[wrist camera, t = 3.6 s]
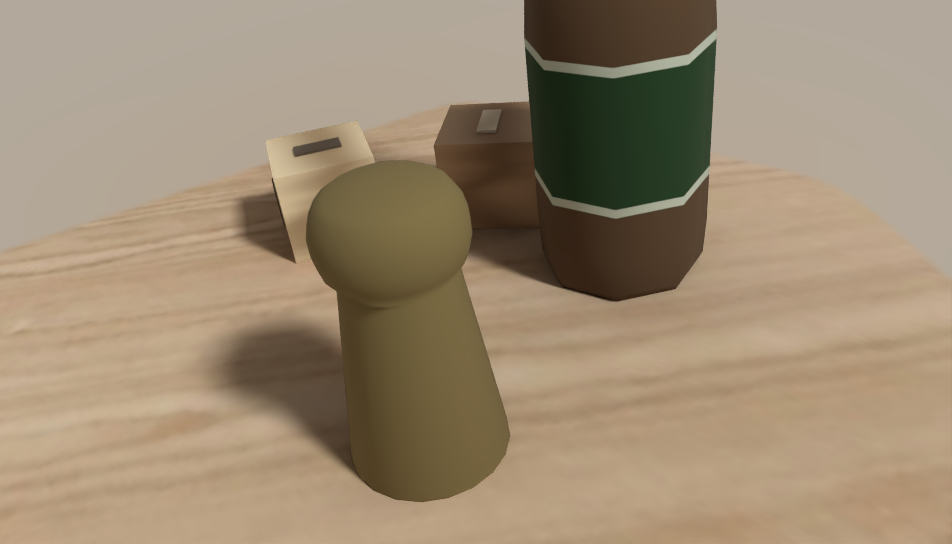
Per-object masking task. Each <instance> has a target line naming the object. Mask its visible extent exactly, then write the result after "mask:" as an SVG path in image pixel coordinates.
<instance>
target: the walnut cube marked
mask: <svg viewBox="0 0 952 544" xmlns="http://www.w3.org/2000/svg"><path fill="white" fill-rule="evenodd" d="M434 150H435V157H436V163H437V168H438V169H440V170H442V171H444V172H445V173H446V174H447V175H448V176H449V177H450V178H451V179H452V180H453V181H454V182H455V184H456V185H457V186H458V187H459V188H460V189H461V190H462V192H463V194H464V197H465V199H466V201H467V204H468V207H469V213H470V218H471V227H472V229H490V228H540V225H539V219H538V206H537V193H536V180H535V168H534V155H533V142H532V129H531V116H530V104H529V102H513V103H512V102H511V103H488V104H467V105H450V108H449V110H448V113H447V115H446V117H445V120H444V122H443V125H442V127H441V129H440V132H439V134H438V137H437V139H436V141H435V144H434Z"/></svg>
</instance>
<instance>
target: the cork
mask: <svg viewBox="0 0 952 544" xmlns="http://www.w3.org/2000/svg"><path fill="white" fill-rule="evenodd" d="M471 238H472V227H471V218H470V213H469V207H468V204H467V201H466V199H465V197H464V194H463V192H462V190H461V189H460V188H459V187H458V186H457V185H456V184H455V182H454V181H453V180H452V179H451V178H450V177H449V176H448V175H447V174H446V173H445V172H444V171H442V170H440V169H438V168H435V167H433V166H431V165H427V164H423V163H418V162H412V161H385V162H378V163H372V164H368V165H365V166H361V167H358V168H355V169H352V170H350V171H348V172H346V173H344V174H341V175H340V176H338V177H337V178H335V179H334V180H332V181H331V182H330V183H328V184H327V185H326V186H324V187H323V188H321V190H320V191H319V192H318V194H317V195H316V196H315V198H314V199H313V201H312V204H311V206H310V209H309V212H308V216H307V223H306V244H307V247H308V251H309V254H310V257H311V259H312V261H313V263H314V265H315V267H316V269H317V271H318V272H319V274H320V276H321V277H322V279H323V280H324V282H325V284H327V285H328V286H330V287H331V288H332V289H334V290H335V291H337V300H338V311H339V323H340V334H341V345H342V356H343V367H344V378H345V389H346V400H347V412H348V423H349V434H350V445H351V456H352V461H353V463H354V466H355V468H356V470H357V473H358V475H359V477H360V478H361V479H362V480H363V481H364V482H366V483H367V484H368V485H369V486H370V487H371V488H372V489H373V490H374V491H377V492H379V493H382V494H384V495H387V496H389V497H391V498H394V499H398V500H408V501H417V502H424V501H431V500H437V499H444V498H449V497H452V496H454V495H456V494H459V493H461V492H464V491H466V490H468V489H471V488H473V487H474V486H476V485H477V484H478V483H480V482H481V481H482V480H484V479H485V478H486V477H487V476H489V475H490V474H491V473H493V471H494V470H495V469H496V467H497V466H498V464H499V463H500V461H501V460H502V459H503V457H504V456H505V454H506V450H507V446H508V442H509V438H510V432H509V427H508V422H507V417H506V414H505V410H504V407H503V404H502V401H501V397H500V394H499V391H498V387H497V384H496V381H495V378H494V374H493V371H492V368H491V364H490V361H489V358H488V355H487V351H486V348H485V345H484V342H483V338H482V335H481V332H480V328H479V325H478V322H477V319H476V315H475V312H474V309H473V305H472V302H471V299H470V296H469V292H468V289H467V286H466V282H465V279H464V276H463V273H462V269H461V268H462V266H463V265H464V263H465V260H466V258H467V255H468V253H469V250H470V245H471Z"/></svg>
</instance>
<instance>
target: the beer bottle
mask: <svg viewBox="0 0 952 544" xmlns="http://www.w3.org/2000/svg"><path fill="white" fill-rule="evenodd" d="M716 37H717V12H716V0H524V39H525V51H526V64H527V78H528V91H529V104H530V116H531V129H532V142H533V155H534V168H535V180H536V193H537V206H538V219H539V225H540V232H541V239H542V246H543V250H544V252H545V254H546V256H547V258H548V260H549V262H550V264H551V265H552V267H553V269H554V271H555V273H556V275H557V277H558V279H559V281H560V282H561V284H562V285H563V286H564V287H567V288H571V289H575V290H578V291H582V292H586V293H589V294H593V295H597V296H600V297H604V298H608V299H611V300H615V301H621V300H625V299H630V298H635V297H639V296H644V295H649V294H653V293H658V292H663V291H667V290H672V289H676V287H677V286H678V285H679V283H680V282H681V281H682V279H683V278H684V276H685V275H686V274H687V272H688V271H689V270H690V268H691V267H692V266H693V264H694V263H695V261H696V260H697V259H698V257H699V256H700V254H701V253H702V251H703V244H704V236H705V228H706V220H707V203H708V184H709V166H710V148H711V129H712V111H713V92H714V73H715V56H716Z"/></svg>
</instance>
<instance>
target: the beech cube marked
mask: <svg viewBox="0 0 952 544" xmlns="http://www.w3.org/2000/svg"><path fill="white" fill-rule="evenodd" d="M266 145H267V151H268V156H269V161H270V166H271V171H272V176H273V178H272V183H273V187H274V191H275V194H276V198H277V202H278V205H279V209H280V213H281V216H282V220H283V223H284V226H286V228H287V231H288V235H289V239H290V242H291V246H292V250H293V253H294V257H295V260H296V264H297V263H301V262H305V261H310V260H312V259H311V257H310V254H309V251H308V247H307V244H306V223H307V216H308V212H309V209H310V206H311V204H312V201H313V199H314V198H315V196H316V195H317V194H318V192H319V191H320V190H321V188H323V187H324V186H326V185H327V184H328V183H330V182H331V181H332V180H334V179H335V178H337V177H338V176H340V175H341V174H344V173H346V172H348V171H350V170H352V169H355V168H358V167H361V166H365V165H368V164H372V163H375V161H374V156H373V154H372V152H371V150H370V148H369V146H368V143H367V141H366V139H365V137H364V135H363V133H362V130H361V129H360V126H359V124H358V122H357V121H353V122H348V123H343V124H339V125H334V126H330V127H325V128H320V129H316V130H311V131H306V132H302V133H297V134H293V135H288V136H283V137H279V138H275V139H270V140H266Z"/></svg>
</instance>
